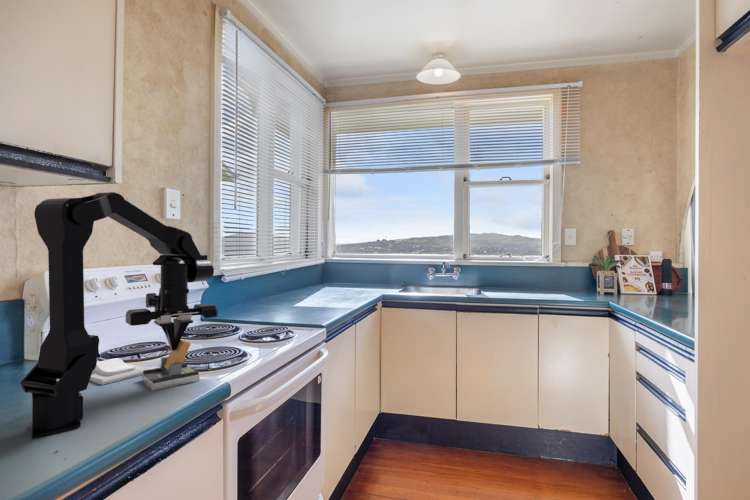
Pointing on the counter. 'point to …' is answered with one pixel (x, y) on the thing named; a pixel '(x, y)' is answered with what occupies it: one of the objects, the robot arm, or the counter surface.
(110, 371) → the light switch
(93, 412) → the counter surface
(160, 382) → the toggle switch base
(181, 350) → the lever
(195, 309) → the robot arm
